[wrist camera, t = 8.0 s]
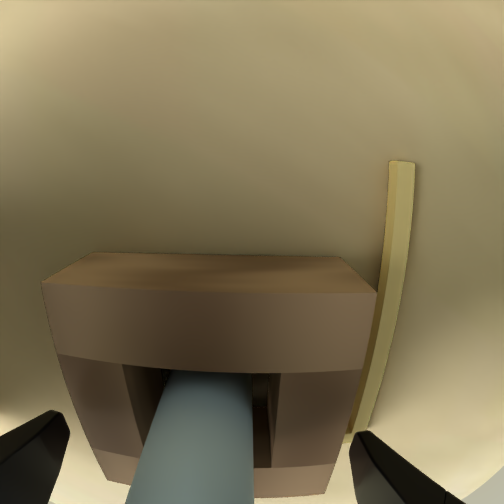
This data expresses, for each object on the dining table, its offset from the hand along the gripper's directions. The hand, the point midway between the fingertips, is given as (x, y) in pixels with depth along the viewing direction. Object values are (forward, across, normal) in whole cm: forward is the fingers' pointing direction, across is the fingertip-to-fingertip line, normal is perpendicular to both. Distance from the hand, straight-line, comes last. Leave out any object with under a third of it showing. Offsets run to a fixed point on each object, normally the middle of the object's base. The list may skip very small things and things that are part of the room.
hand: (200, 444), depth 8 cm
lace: (+4, -5, -2) cm, 7 cm away
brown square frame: (+4, 0, 0) cm, 4 cm away
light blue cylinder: (+4, 0, 0) cm, 4 cm away
